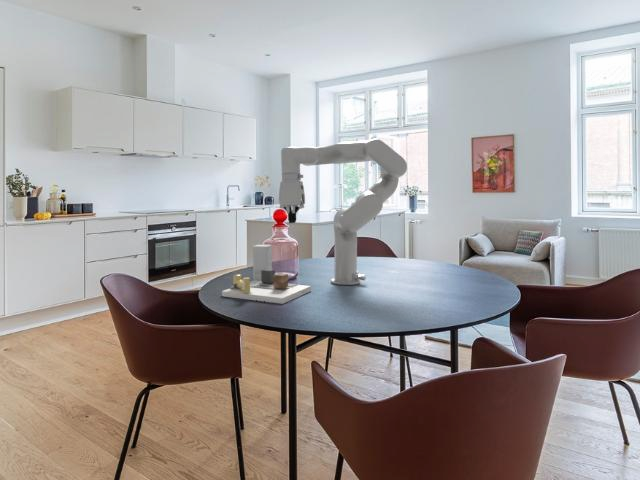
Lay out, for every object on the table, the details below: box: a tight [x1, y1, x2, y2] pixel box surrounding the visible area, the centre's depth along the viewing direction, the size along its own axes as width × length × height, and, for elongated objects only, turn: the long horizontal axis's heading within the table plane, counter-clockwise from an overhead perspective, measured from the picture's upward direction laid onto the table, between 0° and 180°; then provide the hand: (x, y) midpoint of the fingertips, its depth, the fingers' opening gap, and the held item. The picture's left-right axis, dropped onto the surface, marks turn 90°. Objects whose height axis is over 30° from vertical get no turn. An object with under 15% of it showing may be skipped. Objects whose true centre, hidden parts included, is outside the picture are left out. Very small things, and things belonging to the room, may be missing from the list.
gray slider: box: [261, 268, 276, 283], centre depth 187 cm, size 4×4×5 cm
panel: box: [221, 280, 312, 305], centre depth 179 cm, size 27×22×2 cm
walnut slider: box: [273, 272, 289, 289], centre depth 177 cm, size 4×4×5 cm
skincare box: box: [252, 244, 273, 281], centre depth 202 cm, size 8×7×16 cm
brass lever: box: [232, 273, 251, 293], centre depth 175 cm, size 14×3×5 cm, turn 27°
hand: (292, 222), depth 193 cm, fingers closed
